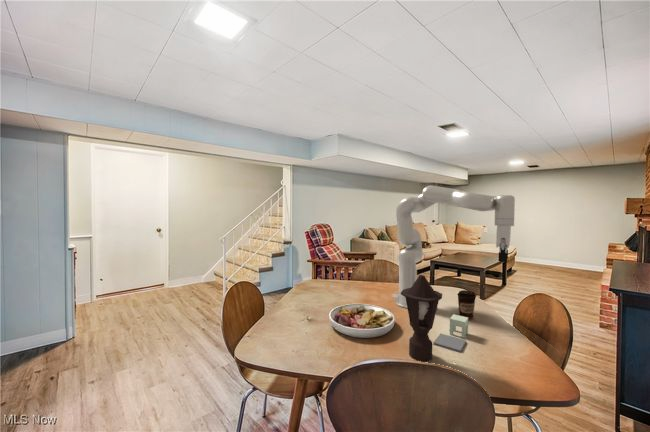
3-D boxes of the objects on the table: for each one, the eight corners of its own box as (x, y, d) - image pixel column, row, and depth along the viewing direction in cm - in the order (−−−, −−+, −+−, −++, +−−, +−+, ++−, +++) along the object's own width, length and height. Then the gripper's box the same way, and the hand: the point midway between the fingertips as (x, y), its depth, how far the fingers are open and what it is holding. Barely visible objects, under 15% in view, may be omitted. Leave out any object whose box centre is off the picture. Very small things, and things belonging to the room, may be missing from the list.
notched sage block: (449, 334, 120) (449, 318, 120) (453, 329, 125) (453, 314, 125) (464, 338, 117) (465, 322, 116) (467, 333, 121) (468, 317, 121)
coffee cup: (478, 322, 133) (479, 295, 132) (459, 320, 135) (460, 294, 134) (472, 315, 141) (473, 289, 141) (455, 313, 143) (455, 288, 143)
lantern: (450, 366, 97) (451, 280, 95) (408, 368, 96) (409, 281, 94) (430, 344, 112) (431, 270, 110) (394, 346, 110) (395, 271, 109)
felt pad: (433, 344, 112) (433, 342, 112) (440, 335, 120) (440, 333, 120) (460, 352, 106) (460, 350, 106) (466, 342, 114) (466, 340, 114)
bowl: (356, 308, 151) (356, 294, 151) (406, 325, 130) (407, 309, 129) (315, 325, 130) (315, 308, 130) (367, 349, 109) (368, 329, 108)
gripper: (495, 221, 136) (494, 256, 136) (493, 223, 122) (492, 262, 122) (514, 221, 132) (513, 257, 132) (513, 223, 117) (512, 264, 118)
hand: (503, 259), depth 127 cm, fingers open, 9 cm apart
